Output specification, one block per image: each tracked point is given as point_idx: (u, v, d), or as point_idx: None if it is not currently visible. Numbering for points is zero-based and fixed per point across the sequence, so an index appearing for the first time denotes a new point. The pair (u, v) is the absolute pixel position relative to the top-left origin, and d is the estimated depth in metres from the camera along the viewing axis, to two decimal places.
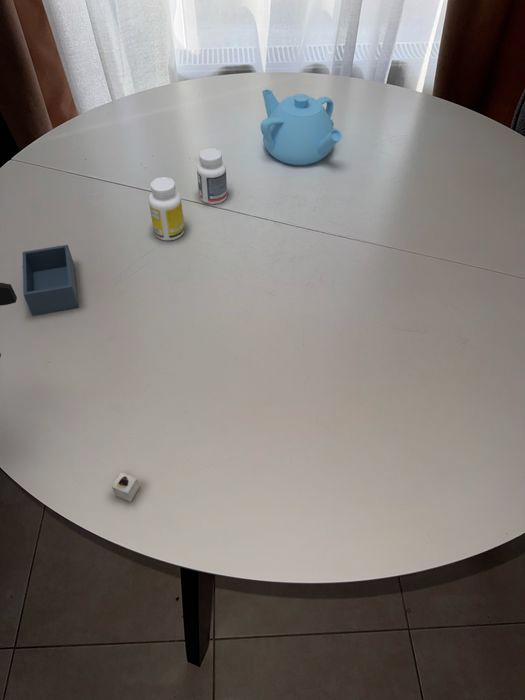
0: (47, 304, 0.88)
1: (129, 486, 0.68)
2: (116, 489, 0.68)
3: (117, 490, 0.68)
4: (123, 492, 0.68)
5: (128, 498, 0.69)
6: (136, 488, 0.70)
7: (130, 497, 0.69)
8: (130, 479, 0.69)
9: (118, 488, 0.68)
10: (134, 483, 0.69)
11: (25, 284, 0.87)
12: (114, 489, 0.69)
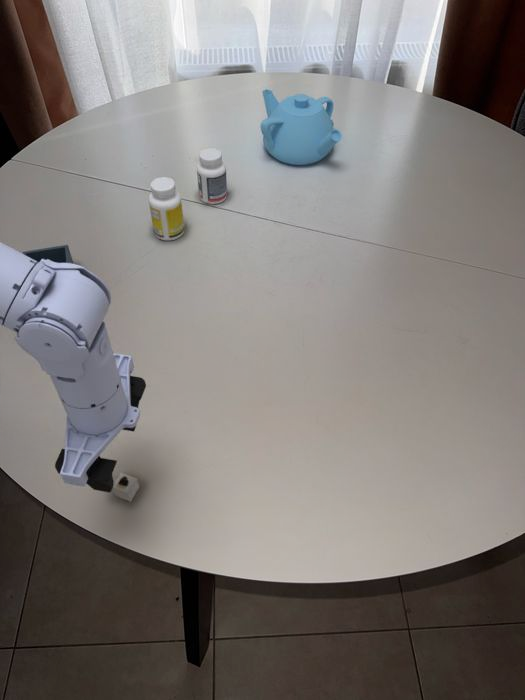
0: None
1: (129, 486, 0.68)
2: (116, 489, 0.68)
3: (117, 490, 0.68)
4: (123, 492, 0.68)
5: (128, 498, 0.69)
6: (136, 488, 0.70)
7: (130, 498, 0.69)
8: (130, 479, 0.69)
9: (118, 488, 0.68)
10: (134, 483, 0.69)
11: None
12: (114, 489, 0.69)
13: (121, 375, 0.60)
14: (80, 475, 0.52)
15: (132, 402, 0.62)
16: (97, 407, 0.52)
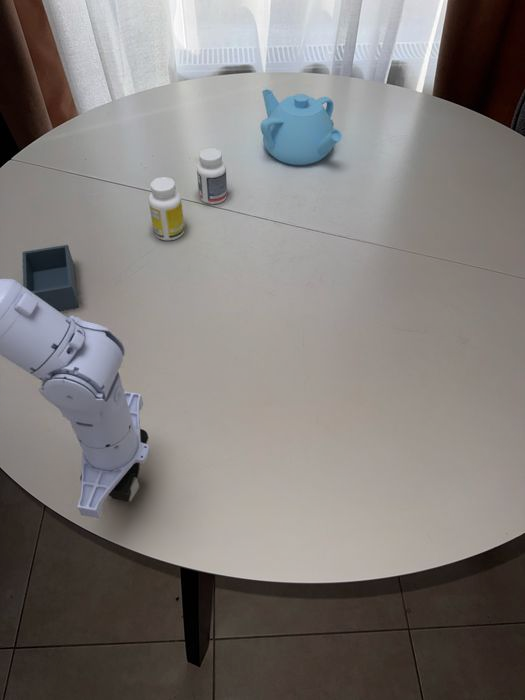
0: None
1: None
2: None
3: None
4: None
5: None
6: (136, 488, 0.70)
7: (130, 497, 0.69)
8: None
9: None
10: (134, 483, 0.69)
11: (25, 284, 0.87)
12: None
13: (132, 413, 0.65)
14: (96, 508, 0.58)
15: None
16: (111, 447, 0.57)
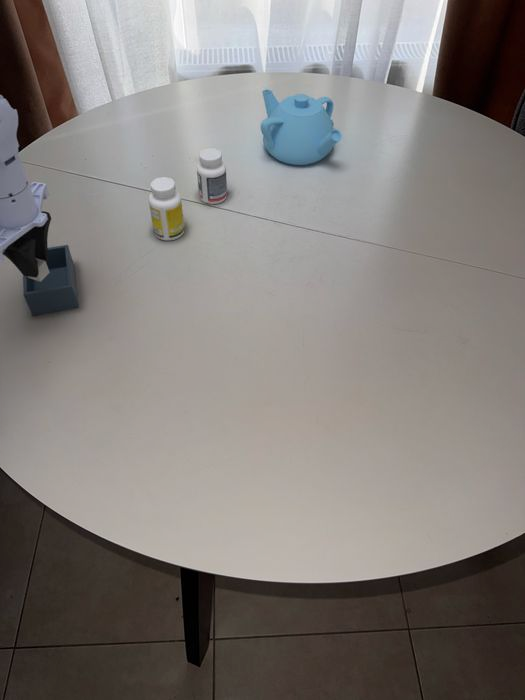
0: (47, 304, 0.88)
1: (38, 265, 0.81)
2: None
3: None
4: None
5: (38, 277, 0.82)
6: (46, 271, 0.83)
7: (40, 277, 0.82)
8: (40, 261, 0.82)
9: None
10: (43, 264, 0.82)
11: (25, 284, 0.87)
12: None
13: (36, 195, 0.78)
14: None
15: (39, 230, 0.78)
16: (9, 199, 0.70)
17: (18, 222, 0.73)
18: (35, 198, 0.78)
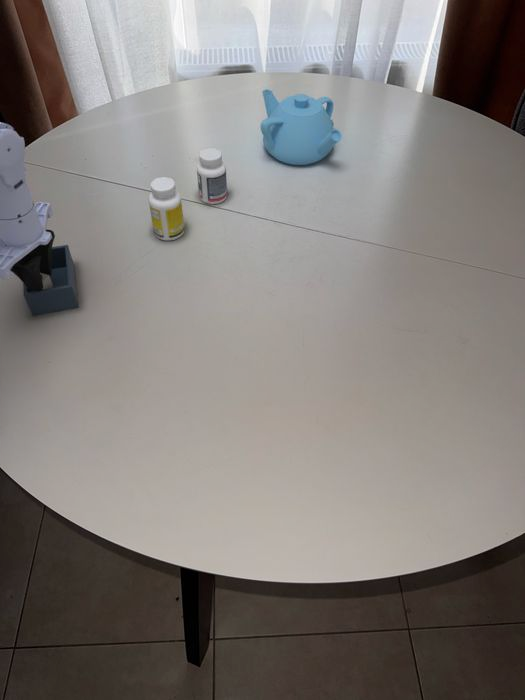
0: (47, 304, 0.88)
1: (43, 280, 0.86)
2: None
3: None
4: None
5: None
6: (50, 285, 0.88)
7: None
8: (44, 275, 0.87)
9: None
10: (47, 279, 0.87)
11: None
12: None
13: (40, 214, 0.83)
14: (4, 268, 0.76)
15: (44, 247, 0.84)
16: (16, 220, 0.75)
17: (24, 241, 0.78)
18: (40, 217, 0.83)
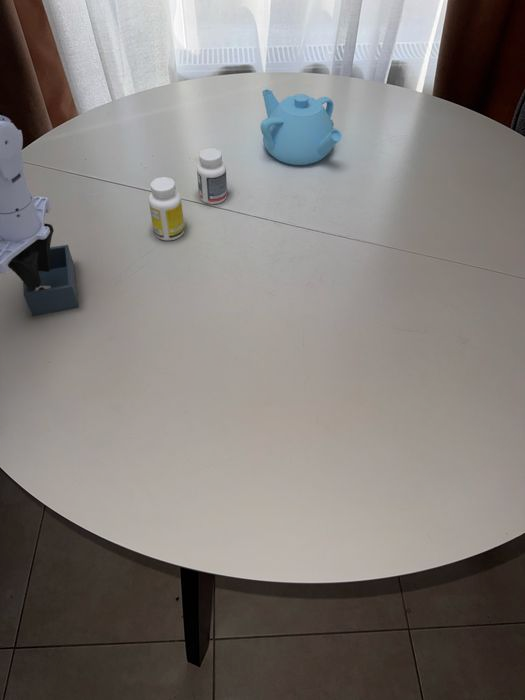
0: (47, 304, 0.88)
1: None
2: None
3: None
4: None
5: None
6: None
7: None
8: (46, 287, 0.89)
9: None
10: None
11: None
12: None
13: (39, 209, 0.82)
14: (2, 262, 0.75)
15: (42, 241, 0.83)
16: (14, 214, 0.75)
17: (22, 235, 0.77)
18: (38, 212, 0.82)
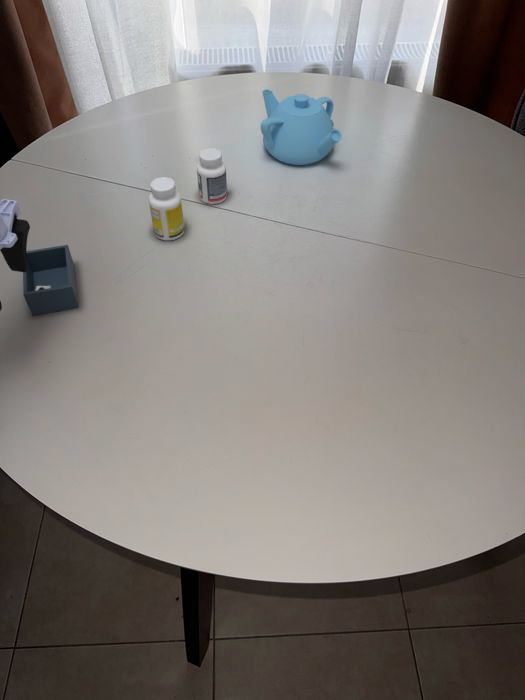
0: (47, 304, 0.88)
1: None
2: None
3: None
4: None
5: None
6: None
7: None
8: (46, 287, 0.89)
9: None
10: None
11: (25, 284, 0.87)
12: None
13: (6, 213, 0.74)
14: None
15: (18, 239, 0.76)
16: None
17: None
18: (5, 216, 0.74)
